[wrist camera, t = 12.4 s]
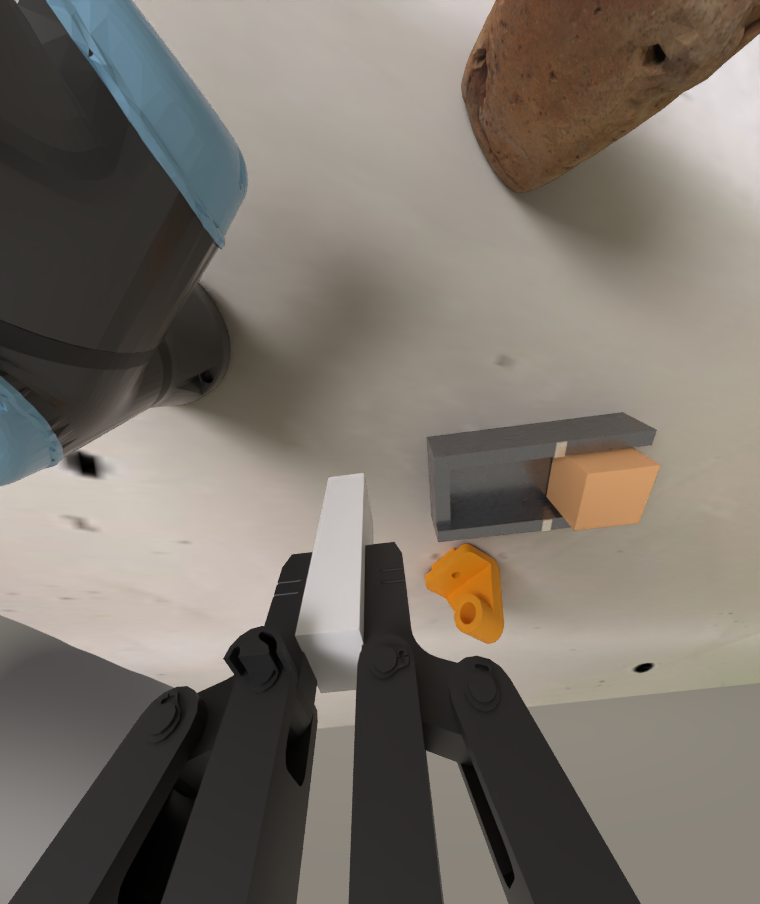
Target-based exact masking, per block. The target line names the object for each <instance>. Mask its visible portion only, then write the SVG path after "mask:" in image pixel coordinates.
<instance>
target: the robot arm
mask: <svg viewBox="0 0 760 904" xmlns="http://www.w3.org/2000/svg"><path fill="white" fill-rule="evenodd" d="M247 186H248V175H247V169H246V165H245V161H244V158H243V156H242V153H241V151H240V149H239V147H238V145H237V144H236V142H235V140H234V138H233V137H232V136H231V134H230V133H229V131H228V130H227V128H226V127H225V125H224V124H223V122H222V121H221V120H220V118H219V117H218V115H217V114H216V112H215V111H214V109H213V108H212V107H211V105H210V104H209V103H208V101H207V100H206V98H205V97H204V96H203V94H202V93H201V91H200V90H199V89H198V87H197V86H196V85H195V83H194V82H193V81H192V79H191V78H190V77H189V75H188V74H187V72H186V71H185V70H184V68H183V67H182V66H181V64H180V63H179V62H178V60H177V59H176V58H175V56H174V55H173V54H172V52H171V51H170V50H169V48H168V47H167V46H166V44H165V43H164V42H163V40H162V39H161V38H160V36H159V35H158V34H157V32H156V31H155V30H154V28H153V27H152V26H151V24H150V23H149V22H148V20H147V19H146V18H145V17H144V15H143V14H142V13H141V11H140V10H139V9H138V7H137V6H136V5H135V3H134V2H133V1H132V0H0V486H4V485H7V484H10V483H13V482H16V481H18V480H20V479H22V478H24V477H27V476H29V475H31V474H33V473H35V472H37V471H40V470H42V469H44V468H49V467H53V466H55V465H57V464H58V462H59V461H60V460H62V459H63V458H64V457H65V456H67V455H69V454H71V453H72V452H74V451H76V450H78V449H79V448H81V447H83V446H84V445H86V444H88V443H90V442H91V441H93V440H95V439H97V438H98V437H100V436H102V435H103V434H105V433H107V432H109V431H110V430H112V429H114V428H116V427H117V426H119V425H121V424H122V423H124V422H126V421H128V420H129V419H131V418H133V417H135V416H136V415H138V414H140V413H141V412H143V411H145V410H146V409H148V408H151V407H164V406H176V405H183V404H187V403H190V402H193V401H196V400H198V399H200V398H201V397H203V396H204V395H206V394H207V393H209V392H210V391H212V390H213V389H214V388H215V387H216V386H217V385H218V384H219V383H220V382H221V380H222V379H223V377H224V376H225V373H226V371H227V368H228V365H229V360H230V341H229V336H228V332H227V328H226V325H225V323H224V320H223V318H222V316H221V314H220V312H219V310H218V308H217V307H216V305H215V303H214V302H213V301H212V299H211V298H210V297H209V295H208V294H207V293H206V292H205V291H204V289H203V288H202V287H201V286H200V285H199V284H198V281H199V279H200V278H201V276H202V275H203V273H204V271H205V270H206V268H207V266H208V265H209V263H210V261H211V260H212V258H213V256H214V255H215V253H216V251H217V250H218V248H220V249H222V248H223V247H224V245H225V239H224V236H225V234H226V232H227V230H228V228H229V226H230V224H231V222H232V221H233V219H234V217H235V215H236V213H237V211H238V209H239V207H240V205H241V203H242V201H243V199H244V197H245V195H246V192H247ZM223 659H224V660H225V662H226V663H227V664H228V666H229V667H230V669H231V670H232V672H233V673H234V676H232V677H230V678H228V679H227V680H225V681H223V682H220V683H218V684H216V685H214V686H212V687H209V688H207V689H205V690H203V691H201V692H198V693H196V692H195V691H194V690H193V689H191V688H189V687H188V686H184V687H176V688H173V689H171V690H169V691H167V692H165V693H163V694H162V695H161V696H159V697H158V698H157V699H156V700H154V701H153V702H152V703H151V704H150V705H149V707H148V708H147V709H146V710H145V711H144V713H143V714H142V715H141V716H140V717H139V719H138V720H137V722H136V723H135V724H134V726H133V727H132V729H131V730H130V732H129V733H128V734H127V736H126V738H125V739H124V740H123V742H122V743H121V744H120V746H119V747H118V749H117V750H116V751H115V753H114V754H113V756H112V757H111V759H110V760H109V761H108V763H107V764H106V766H105V767H104V768H103V770H102V771H101V773H100V774H99V776H98V777H97V779H96V780H95V781H94V783H93V784H92V786H91V787H90V788H89V790H88V791H87V793H86V794H85V796H84V797H83V798H82V800H81V801H80V803H79V804H78V806H77V807H76V808H75V810H74V811H73V812H72V814H71V815H70V817H69V818H68V820H67V821H66V822H65V824H64V825H63V827H62V828H61V830H60V831H59V832H58V834H57V835H56V837H55V838H54V839H53V841H52V842H51V844H50V845H49V847H48V848H47V849H46V851H45V852H44V854H43V855H42V856H41V858H40V859H39V861H38V862H37V864H36V865H35V867H34V868H33V869H32V871H31V872H30V874H29V875H28V877H27V878H26V880H25V881H24V882H23V884H22V885H21V887H20V888H19V889H18V891H17V892H16V893H15V895H14V896H13V898H12V899H11V900H10V902H9V903H8V904H296V901H297V893H298V884H299V875H300V867H301V859H302V850H303V842H304V841H303V840H304V833H305V824H306V816H307V808H308V799H309V791H310V782H311V774H312V765H313V756H314V748H315V739H316V730H317V722H318V720H317V709H316V707H315V705H314V702H315V694H316V687H317V686H318V688H319V690H320V692H321V693H327V692H337V691H347V690H356V714H355V741H354V769H353V771H354V772H353V798H352V826H351V853H350V882H349V904H444V901H443V893H442V884H441V875H440V867H439V858H438V850H437V842H436V833H435V825H434V816H433V807H432V799H431V790H430V782H429V773H428V765H427V756H426V750H427V751H429V752H432V753H434V754H437V755H440V756H442V757H445V758H448V759H451V760H453V761H456V762H457V763H458V766H459V769H460V771H461V774H462V777H463V780H464V782H465V785H466V788H467V790H468V793H469V796H470V799H471V802H472V804H473V807H474V810H475V813H476V815H477V818H478V821H479V824H480V826H481V829H482V832H483V835H484V837H485V840H486V843H487V846H488V848H489V851H490V854H491V857H492V859H493V862H494V865H495V868H496V870H497V873H498V876H499V879H500V881H501V884H502V887H503V889H504V892H505V895H506V898H507V901H508V903H509V904H640V902H639V900H638V898H637V896H636V895H635V893H634V891H633V890H632V888H631V886H630V885H629V883H628V881H627V879H626V878H625V876H624V874H623V872H622V871H621V869H620V867H619V865H618V864H617V862H616V860H615V859H614V857H613V855H612V854H611V852H610V850H609V848H608V846H607V845H606V843H605V842H604V840H603V838H602V836H601V834H600V833H599V831H598V829H597V828H596V826H595V824H594V822H593V821H592V819H591V817H590V815H589V814H588V812H587V810H586V809H585V807H584V805H583V803H582V802H581V800H580V798H579V797H578V795H577V793H576V792H575V790H574V788H573V786H572V784H571V783H570V781H569V779H568V778H567V776H566V774H565V772H564V771H563V769H562V767H561V766H560V764H559V762H558V760H557V759H556V757H555V755H554V753H553V752H552V750H551V748H550V747H549V745H548V743H547V741H546V740H545V738H544V736H543V735H542V733H541V731H540V729H539V728H538V726H537V724H536V723H535V721H534V719H533V717H532V716H531V714H530V712H529V710H528V709H527V707H526V705H525V704H524V702H523V700H522V698H521V697H520V695H519V693H518V691H517V690H516V688H515V686H514V685H513V683H512V681H511V679H510V678H509V677H508V675H507V674H506V673H505V672H504V670H503V669H502V668H501V667H500V666H499V665H497V664H496V663H494V662H493V661H491V660H490V659H487V658H483V657H479V656H473V657H466V658H464V659H463V660H461V661H460V662H458V663H456V662H452V661H448V660H445V659H441V658H438V657H435V656H433V655H430V654H429V653H427V652H426V651H424V650H423V649H422V648H421V647H420V646H419V645H418V643H417V642H416V640H415V638H414V637H413V635H412V630H411V622H410V614H409V606H408V597H407V589H406V581H405V573H404V565H403V558H402V553H401V551H400V550H399V548H398V547H397V545H396V544H395V542H390V543H381V544H373V519H372V514H371V508H370V503H369V497H368V492H367V486H366V481H365V475H364V473H359V474H351V475H343V476H335V477H329V478H328V482H327V487H326V492H325V497H324V501H323V506H322V511H321V515H320V520H319V525H318V529H317V534H316V539H315V544H314V548H313V552H310V553H301V554H293V555H291V557H290V558H289V559H288V561H287V562H286V563H285V565H284V566H283V567H282V570H281V574H280V577H279V580H278V585H277V587H276V590H275V593H274V597H273V600H272V603H271V606H270V609H269V613H268V616H267V619H266V622H265V626H260V627H257V628H253V629H250V630H249V631H247V632H246V633H244V634H243V635H241V636H240V637H239V638H238V639H237V640H236V641H235V642H234V643H233V644H232V645H231V646H230V648H229V649H228V651H227V653H226V655H225V657H224V658H223Z"/></svg>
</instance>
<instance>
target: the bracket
mask: <svg viewBox="0 0 760 904" xmlns="http://www.w3.org/2000/svg"><path fill="white" fill-rule="evenodd" d="M431 567H432V570H431V571H430V572H429V573H427V574H426V575H425V582H426V587H427V589H429V590H431V591H433V592H435V593H437V594H439V595H440V596H442V597H444V598H446V600H447V601H448V603H449V604H450V606H451V607H452V609H453V610H454V612H455V613H454V619H455V623H456V626H457V628H458V629H459V630H460V631H461V632H463V633H465V634H467V635H470V636H472V637H474V638H476V639H478V640H480V641H482V642H484V643H488V644H491V643H494V642H496V641H497V640H498V639H499V638H500V636H501V634H502V632H503V628H504V618H503V606H502V594H501V582H500V570H499V567H498V565H497V562H496V560H495V559H493V558H491V557H490V556H488V555H487V554H485V553H483V552H482V551H480V550H478V549H477V548H475V547H473V546H472V545H470V544H463V545H461V546H460V547H459V548H458V549H455V548H454V547H453V548H452V549H451V550H450V551H449V552H448V553H446V554H445V555H444V556H443V557H442V558H440V559H439V560H438V561H437V562H436V563H434V564H433V565H432V566H431Z"/></svg>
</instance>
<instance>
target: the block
mask: <svg viewBox="0 0 760 904" xmlns="http://www.w3.org/2000/svg"><path fill="white" fill-rule="evenodd" d="M758 34H760V0H496V1H495V3H494V5H493V7H492V10H491V12H490V14H489V15H488V17H487V19H486V21H485V24H484V26H483V28H482V30H481V32H480V35H479V37H478V39H477V41H476V43H475V45H474V47H473V49H472V51H471V54H470V56H469V59H468V62H467V64H466V68H465V71H464V75H463V79H462V84H461V90H462V97H463V100H464V102H465V104H466V108H467V112H468V115H469V119H470V122H471V126H472V129H473V132H474V134H475V136H476V139H477V141H478V143H479V145H480V147H481V149H482V151H483V153H484V155H485V157H486V159H487V161H488V162H489V164H490V165H491V167H492V168H493V170H494V171H495V172H496V174H497V175H498V177H499V178H500V179H501V180H502V181H503V182H504V183H505V184H506V186H508V187H509V188H510V189H512V190H513V191H515V192H518V193H521V192H527V191H530V190H533V189H536V188H539V187H541V186H543V185H545V184H547V183H549V182H551V181H553V180H555V179H557V178H558V177H560V176H561V175H563V174H565V173H566V172H568V171H569V170H571V169H573V168H574V167H575V166H576V165H578V164H579V163H581V162H583V161H585V160H586V159H588V158H590V157H592V156H594V155H595V154H597V153H598V152H600V151H601V150H603V149H604V148H606V147H607V146H609V145H610V144H612V143H613V142H615V141H616V140H618V139H620V138H621V137H623V136H624V135H626V134H627V133H629V132H630V131H632V130H633V129H635V128H636V127H638V126H639V125H640V124H642V123H643V122H645V121H646V120H647V119H649V118H650V117H652V116H653V115H655V114H656V113H658V112H659V111H661V110H662V109H663V108H665V107H666V106H667V105H668V104H670V103H671V102H672V101H673V100H674V99H676V98H677V97H678V96H679V95H680V94H682V93H683V92H685V91H687V90H689V89H691V88H692V87H694V86H696V85H698V84H699V83H701V82H703V81H705V80H706V79H708V78H709V77H710V76H711V75H712V74H713V73H714V72H715V71H716V70H717V69H719V68H720V67H721V66H722V65H723V64H724V63H725V62H726V61H728V60H729V59H730V58H731V57H732V56H734V55H735V54H736V53H737V52H739V51H740V50H741V49H742V48H743V47H744V46H746V45H747V44H748V43H749V42H750V41H751V40H753V39H754V38H755V37H756V36H757V35H758Z"/></svg>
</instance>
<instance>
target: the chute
mask: <svg viewBox="0 0 760 904" xmlns="http://www.w3.org/2000/svg"><path fill="white" fill-rule="evenodd" d="M656 431H657V430H656V429H654V428H652V427H650V426H648V425H646V424H644V423H642V422H640V421H638V420H636V419H634V418H632V417H631V416H629V415H627V414H625V413H615V414H607V415H599V416H591V417H583V418H575V419H567V420H559V421H552V422H544V423H536V424H528V425H520V426H512V427H504V428H496V429H488V430H480V431H472V432H465V433H457V434H449V435H441V436H433V437H427V448H428V465H429V482H430V499H431V516H432V520H433V524H434V528H435V531H436V535H437V539H438V542H444V541H453V540H462V539H470V538H479V537H488V536H497V535H506V534H514V533H523V532H532V531H550V530H551V529H558V528H567V527H571V526H570V525H569V524H568V522H567V521H566V520H565V519H564V518H563V516H562V515H561V514H560V513H559V511H558V510H557V509H556V508H555V507H554V505H553V504H552V503H551V502H550V501H549V499H548V498H547V497H546V495H547V490H548V484H549V478H550V472H551V466H552V461H553V457H554V458H557V457H565V456H566V455H574V454H582V453H591V452H599V451H607V450H615V449H623V448H631V447H640V446H648V445H652V442H653V440H654V437H655V434H656Z"/></svg>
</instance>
